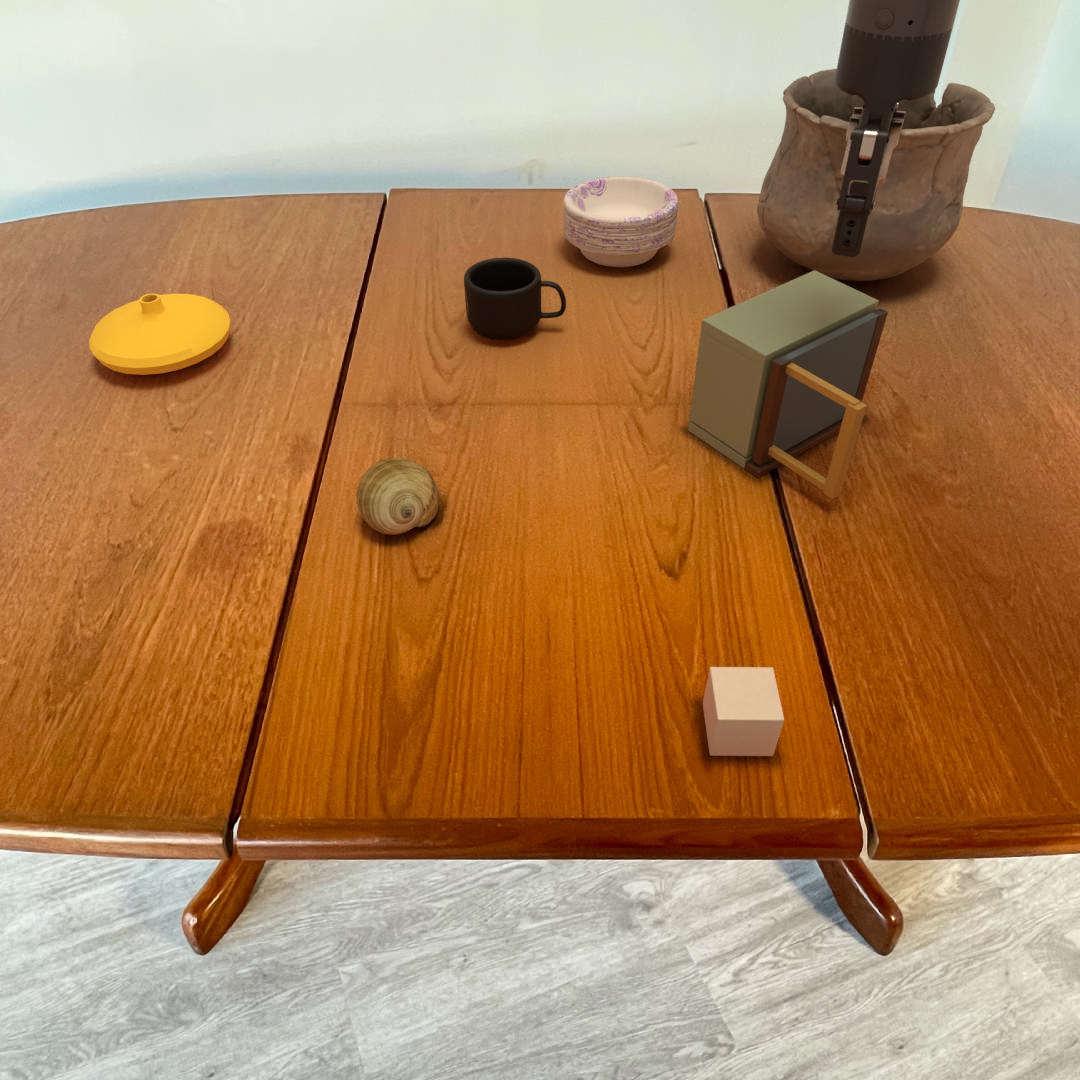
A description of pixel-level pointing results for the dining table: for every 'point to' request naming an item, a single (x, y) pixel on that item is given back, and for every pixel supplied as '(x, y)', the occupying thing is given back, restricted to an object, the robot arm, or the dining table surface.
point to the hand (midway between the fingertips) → (851, 233)
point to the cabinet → (762, 360)
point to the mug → (506, 298)
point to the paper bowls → (620, 219)
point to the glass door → (820, 398)
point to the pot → (901, 200)
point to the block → (742, 711)
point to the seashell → (397, 496)
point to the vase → (160, 333)
